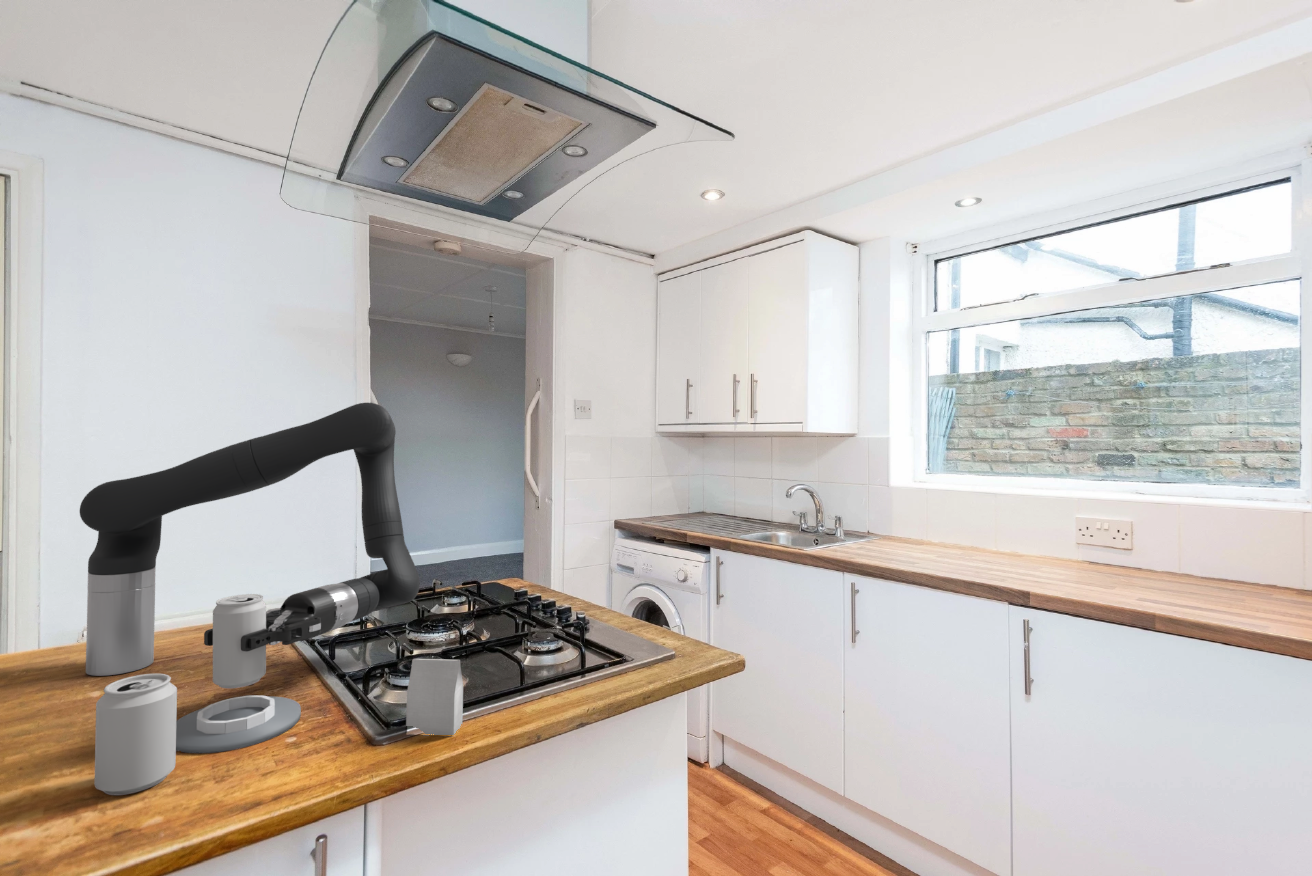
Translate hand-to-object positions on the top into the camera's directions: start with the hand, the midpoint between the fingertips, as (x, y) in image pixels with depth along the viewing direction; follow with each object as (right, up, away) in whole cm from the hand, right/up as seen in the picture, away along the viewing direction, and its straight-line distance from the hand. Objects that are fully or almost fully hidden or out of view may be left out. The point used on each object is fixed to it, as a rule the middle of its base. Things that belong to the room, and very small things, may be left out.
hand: (224, 641), depth 89 cm
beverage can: (+1, -7, +2) cm, 7 cm away
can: (-2, -13, -13) cm, 18 cm away
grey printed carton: (+29, -13, +2) cm, 32 cm away
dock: (0, -13, +2) cm, 13 cm away
